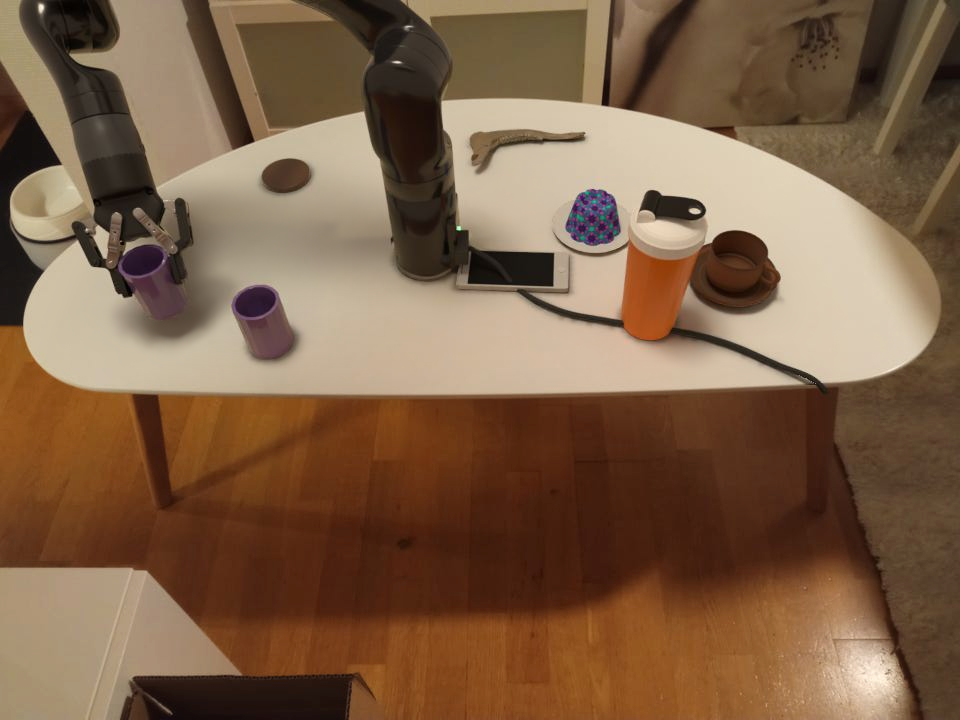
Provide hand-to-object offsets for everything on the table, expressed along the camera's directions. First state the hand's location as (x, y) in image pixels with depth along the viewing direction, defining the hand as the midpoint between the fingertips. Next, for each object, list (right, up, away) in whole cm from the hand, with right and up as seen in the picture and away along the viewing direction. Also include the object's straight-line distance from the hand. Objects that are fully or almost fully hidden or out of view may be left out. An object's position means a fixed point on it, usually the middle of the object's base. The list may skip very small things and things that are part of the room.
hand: (154, 290), depth 96 cm
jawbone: (+49, +25, +27) cm, 61 cm away
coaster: (+10, +21, +26) cm, 34 cm away
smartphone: (+46, +3, +11) cm, 47 cm away
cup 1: (0, -1, +4) cm, 5 cm away
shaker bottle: (+64, -4, +5) cm, 64 cm away
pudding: (+58, +11, +16) cm, 61 cm away
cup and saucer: (+76, +2, +9) cm, 76 cm away
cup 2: (+14, -6, +5) cm, 16 cm away
